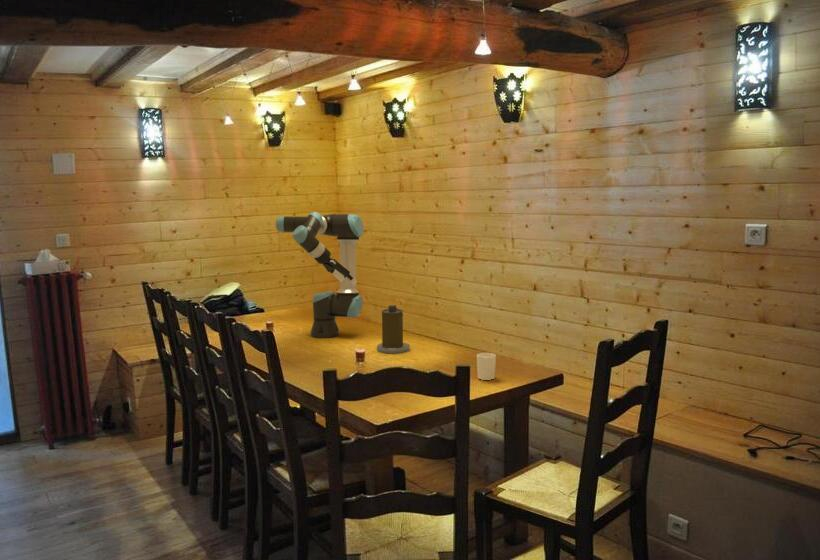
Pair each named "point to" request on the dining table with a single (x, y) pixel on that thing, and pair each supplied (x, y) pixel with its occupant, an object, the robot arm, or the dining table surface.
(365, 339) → the dining table surface
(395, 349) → the disc
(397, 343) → the canister
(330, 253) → the robot arm
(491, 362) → the white cup
